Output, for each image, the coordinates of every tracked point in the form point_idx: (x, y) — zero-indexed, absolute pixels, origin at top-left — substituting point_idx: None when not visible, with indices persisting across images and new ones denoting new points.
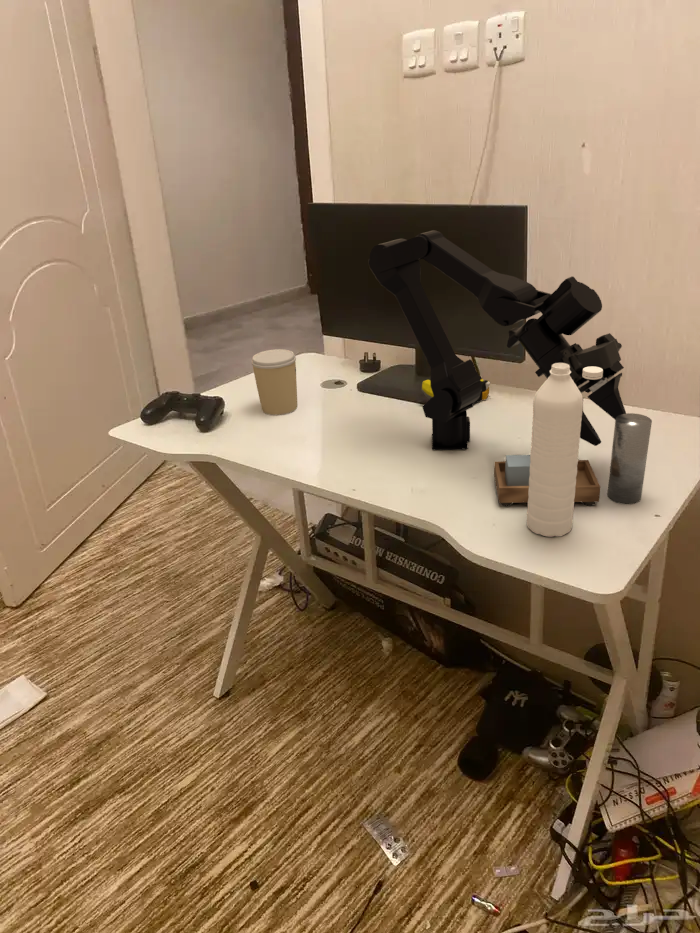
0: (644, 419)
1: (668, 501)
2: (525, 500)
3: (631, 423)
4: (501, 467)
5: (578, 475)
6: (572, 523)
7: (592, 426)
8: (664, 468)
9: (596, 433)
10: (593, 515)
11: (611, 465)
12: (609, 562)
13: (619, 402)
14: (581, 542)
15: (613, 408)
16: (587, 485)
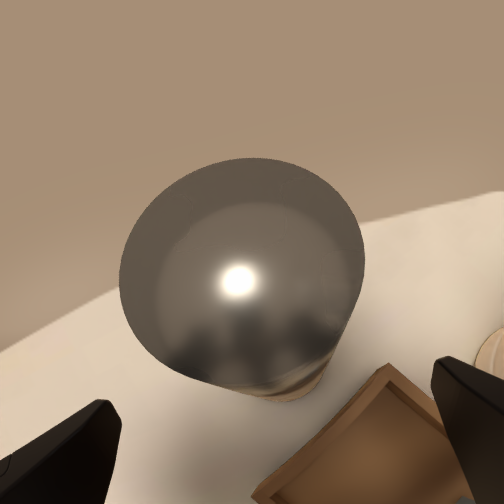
0: (183, 212)
1: None
2: None
3: (299, 227)
4: None
5: (315, 483)
6: (491, 336)
7: (496, 406)
8: (97, 354)
9: (469, 380)
10: (415, 350)
11: (320, 375)
12: (493, 226)
13: (32, 461)
14: (498, 293)
15: (73, 489)
16: (408, 393)
